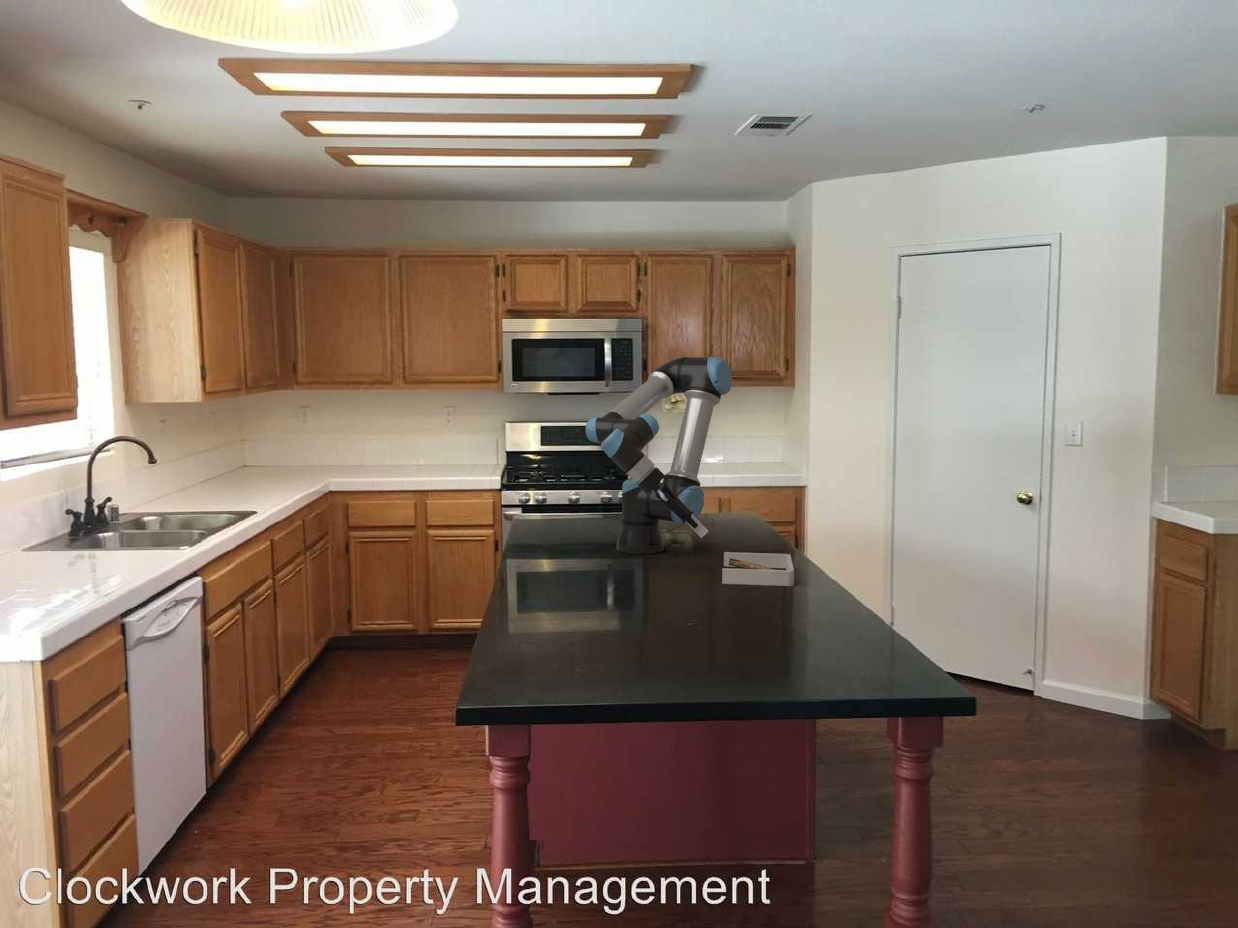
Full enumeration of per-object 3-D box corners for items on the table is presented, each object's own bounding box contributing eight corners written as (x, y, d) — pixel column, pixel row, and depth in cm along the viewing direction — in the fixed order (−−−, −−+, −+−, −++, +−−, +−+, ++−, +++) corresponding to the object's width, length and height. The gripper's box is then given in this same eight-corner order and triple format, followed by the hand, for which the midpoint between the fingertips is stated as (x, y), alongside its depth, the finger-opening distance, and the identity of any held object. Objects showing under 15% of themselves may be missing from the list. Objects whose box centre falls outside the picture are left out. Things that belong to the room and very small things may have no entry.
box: (723, 565, 273) (724, 552, 273) (789, 567, 271) (790, 554, 270) (722, 583, 251) (722, 569, 251) (793, 586, 249) (794, 571, 248)
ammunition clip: (760, 566, 265) (784, 571, 254) (759, 572, 265) (783, 577, 254) (729, 558, 261) (752, 563, 250) (728, 564, 260) (751, 569, 249)
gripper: (639, 481, 268) (696, 538, 269) (634, 487, 256) (694, 548, 256) (657, 463, 267) (714, 521, 267) (653, 469, 254) (714, 529, 255)
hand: (704, 534), depth 262 cm, fingers closed
